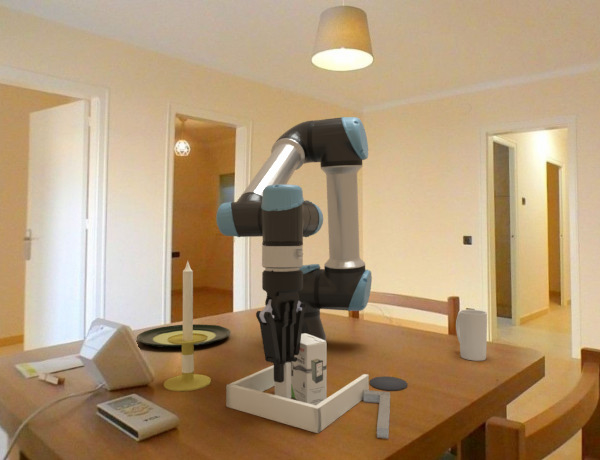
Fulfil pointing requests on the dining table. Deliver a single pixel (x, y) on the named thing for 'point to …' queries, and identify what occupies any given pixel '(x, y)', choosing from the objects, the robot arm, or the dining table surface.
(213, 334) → the plate
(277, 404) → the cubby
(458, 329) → the mug
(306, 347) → the ink box
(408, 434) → the dining table surface
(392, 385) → the dark grey disc
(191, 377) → the candle
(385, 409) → the crook tool
